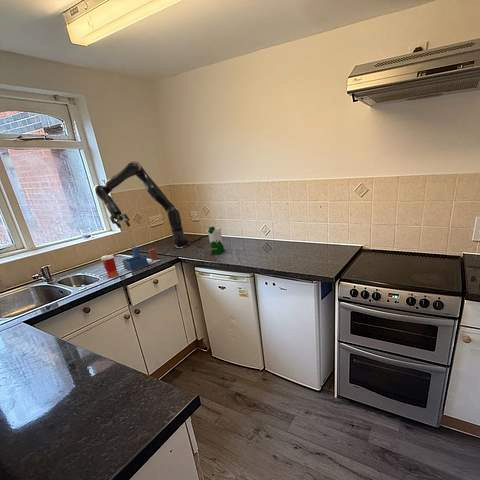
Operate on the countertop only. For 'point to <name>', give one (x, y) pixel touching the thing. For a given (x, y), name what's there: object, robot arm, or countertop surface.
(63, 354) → the countertop surface
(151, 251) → the terracotta skittle
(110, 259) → the beer glass
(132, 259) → the blue bin
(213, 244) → the milk carton
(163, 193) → the robot arm
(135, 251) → the blue skittle
